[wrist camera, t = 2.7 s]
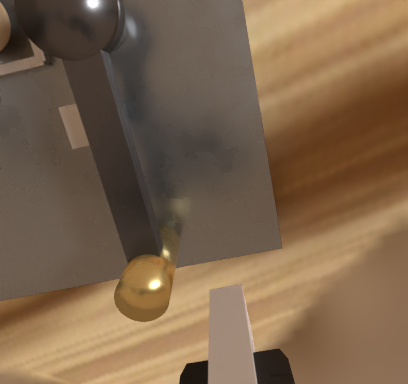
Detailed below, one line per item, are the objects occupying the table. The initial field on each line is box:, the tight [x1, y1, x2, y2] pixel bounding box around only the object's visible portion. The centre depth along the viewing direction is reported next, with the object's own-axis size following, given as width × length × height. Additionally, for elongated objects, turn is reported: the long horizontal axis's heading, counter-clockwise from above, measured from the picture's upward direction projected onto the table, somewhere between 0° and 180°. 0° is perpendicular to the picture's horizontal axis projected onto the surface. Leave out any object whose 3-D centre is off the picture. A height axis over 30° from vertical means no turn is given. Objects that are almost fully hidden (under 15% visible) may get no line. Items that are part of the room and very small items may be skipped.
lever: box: [14, 0, 180, 322], centre depth 19 cm, size 5×19×7 cm, turn 12°
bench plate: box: [0, 0, 282, 301], centre depth 22 cm, size 24×26×6 cm
